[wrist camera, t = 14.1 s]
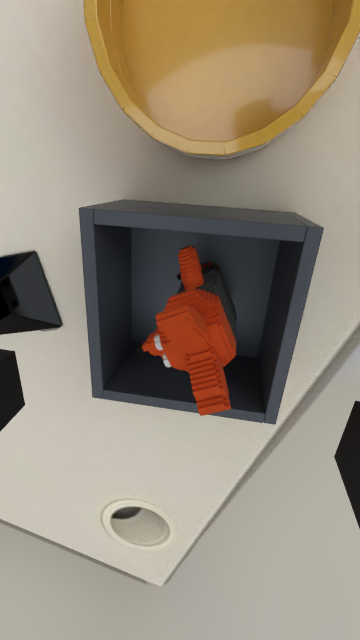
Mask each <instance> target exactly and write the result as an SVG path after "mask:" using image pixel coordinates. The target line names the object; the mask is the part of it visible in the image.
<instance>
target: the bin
mask: <svg viewBox="0 0 360 640" xmlns="http://www.w3.org/2000/svg"><path fill="white" fill-rule="evenodd" d="M79 217H80V231H81V244H82V258H83V272H84V286H85V300H86V313H87V327H88V341H89V355H90V369H91V382H92V396H93V397H94V398H101V399H107V400H114V401H120V402H127V403H134V404H140V405H147V406H154V407H160V408H167V409H174V410H180V411H187V412H194V413H199V412H198V410H197V409H198V406H197V404H196V403H197V401H196V399H195V397H194V394H193V389H192V384H191V378H190V373H189V372H188V371H186V370H178V369H175V368H173V367H166V366H165V364H164V362H163V360H164V359H163V358H162V356H159V355H156V356H154V355H152V354H150V353H149V351H145V352H142V353H138V351H137V349H136V347H137V346H138V345H140V344H143V343H144V342H146V341H147V338H148V336H149V334H152V333H154V332H155V330H156V328H157V326H158V325H157V323H156V322H157V320H156V317H155V316H156V315H157V313H160V312H163V311H164V309H165V307H166V304H167V302H168V300H169V297H170V296H173V295H176V294H177V292H178V290H179V288H180V287H181V285H180V284H181V283H182V282H183V281H182V279H180V280H178V278H177V275H178V274H180V273H181V271H180V263H179V259H178V258H179V257H178V254H179V253H180V251H179V250H180V249H183V248H184V247H187V246H190V245H191V246H192V247H195V248H196V251H197V253H198V257H199V261H200V265H201V266H202V265H205V264H207V263H210V262H212V263H213V265H215V264H216V265H219V267H220V269H221V272H222V274H223V277H224V280H225V282H226V288H227V290H228V292H229V294H230V296H231V299H232V301H233V304H234V307H235V309H236V313H237V322H235V323H236V327H237V334H238V339H237V340H236V355H235V358H232V360H231V361H230V362H229V363H228V364H226V366H223V370H224V374H225V379H226V384H227V388H228V391H229V400H230V405H231V409H229V410H225V411H220V412H216V413H212V414H207V415H214V416H220V417H227V418H234V419H240V420H247V421H254V422H260V423H263V422H264V423H269V424H276V420H277V416H278V412H279V408H280V404H281V400H282V396H283V392H284V388H285V384H286V379H287V375H288V371H289V367H290V363H291V359H292V355H293V351H294V347H295V343H296V339H297V335H298V331H299V327H300V323H301V319H302V314H303V310H304V306H305V302H306V298H307V294H308V290H309V286H310V282H311V278H312V274H313V270H314V266H315V262H316V258H317V254H318V249H319V245H320V241H321V237H322V233H323V227H321V226H319V225H317V224H315V223H313V222H312V221H310V220H308V219H306V218H304V217H302V216H300V215H298V214H297V213H293V212H280V211H267V210H254V209H241V208H228V207H215V206H201V205H188V204H175V203H162V202H149V201H136V200H118V201H113V202H108V203H102V204H97V205H92V206H86V207H81V208H79Z"/></svg>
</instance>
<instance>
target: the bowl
mask: <svg viewBox="0 0 360 640" xmlns="http://www.w3.org/2000/svg"><path fill="white" fill-rule="evenodd" d="M84 17H85V24H86V28H87V31H88V35H89V38H90V42H91V45H92V49H93V52H94V56H95V59H96V63H97V66H98V69H99V71H100V74H101V76H102V77H103V79H104V81H105V82H106V84H107V86H108V87H109V89H110V91H111V92H112V94H113V96H114V97H115V99H116V101H117V103H118V104H119V106H120V108H121V109H122V110H123V112H124V113H125V114H126V115H127V116H128V117H130V118H131V119H132V120H133V121H134V122H135V123H136V124H137V125H138V126H139V127H140V128H141V129H143V130H144V131H145V132H146V133H147V134H148V135H149V136H150V137H151V138H153V139H154V140H156V141H158V142H160V143H162V144H164V145H166V146H168V147H170V148H173V149H175V150H177V151H180V152H182V153H184V154H186V155H189V156H191V157H193V158H200V159H217V160H226V159H227V160H228V159H231V158H235V157H239V156H242V155H245V154H249V153H252V152H255V151H258V150H260V149H262V148H263V147H264V146H266V145H267V144H269V143H270V142H272V141H273V140H275V139H276V138H278V137H279V136H281V135H282V134H284V133H285V132H287V131H288V130H289V129H290V128H292V127H293V126H294V125H295V124H296V123H297V122H299V121H300V120H301V119H302V118H303V117H304V116H305V115H306V114H307V113H308V111H309V110H310V109H311V108H312V107H313V105H314V104H315V103H316V102H317V101H318V100H319V98H320V97H321V96H322V95H323V94H324V93H325V91H326V90H327V89H328V88H329V87H330V85H331V84H332V83H333V82H334V81H335V79H336V78H337V77H338V75H339V73H340V71H341V69H342V67H343V65H344V63H345V61H346V59H347V57H348V55H349V53H350V51H351V48H352V46H353V44H354V42H355V40H356V38H357V36H358V34H359V32H360V0H84Z"/></svg>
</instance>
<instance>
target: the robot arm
mask: <svg viewBox="0 0 360 640" xmlns="http://www.w3.org/2000/svg"><path fill="white" fill-rule="evenodd" d="M24 405H25V402H24V397H23V392H22V386H21V381H20V376H19V371H18V366H17V360H16V355H15V351H9V350H2V349H0V431H1V430H2V429H3V428H4V427H5V426H6V425H7V424H8V423H9V422H10V420H11V419H12V418H13V417H14V416H15V415H16V414H17V413H18V412H19V411H20V410H21V409H22V408H23V406H24ZM335 460H336V462H337V466H338V468H339V471H340V474H341V477H342V480H343V483H344V485H345V488H346V491H347V494H348V497H349V499H350V502H351V505H352V508H353V511H354V514H355V517H356V519H357V522H358V525H359V528H360V402H359V401H355V403H354V406H353V408H352V411H351V414H350V417H349V419H348V422H347V424H346V427H345V430H344V432H343V435H342V438H341V440H340V443H339V446H338V448H337V451H336V454H335Z"/></svg>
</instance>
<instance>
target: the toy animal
mask: <svg viewBox="0 0 360 640" xmlns="http://www.w3.org/2000/svg"><path fill="white" fill-rule="evenodd" d="M179 251H180V253H179V254H178V257H179V258H178V259H179V263H180V271H181V273H180V274H178V275H177V278H178V280H180V279H182V281H183V282H182V283H181V284H180V285H181V287H180V288H179V290H178V292H177V294H176V295H173V296H170V297H169V300H168V302H167V304H166V307H165V309H164V311H163V312H160V313H157V315H156V316H155V317H156V320H157V322H156V323H157V325H158V326H157V328H156V330H155V332H154V333H152V334H149V336H148V338H147V341H146V342H144V343H143V344H140V345H138V346H137V347H136V349H137V351H138V353H142V352H145V351H149V353H150V354H152V355H154V356H156V355H159V356H162V358H163V359H164V360H163V362H164V364H165V366H166V367H173V368H175V369H178V370H186V371H188V372H189V373H190V378H191V384H192V389H193V394H194V397H195V399H196V401H197V403H196V404H197V406H198V409H197V410H198V412H199V414H200V415H202V416H203V415H207V414H212V413H216V412H220V411H225V410H229V409H231V405H230V400H229V391H228V388H227V384H226V379H225V374H224V370H223V366H226V364H228V363H229V362H230V361H231V360H232V358H235V355H236V340H237V339H238V334H237V327H236V323H235V322H237V313H236V309H235V307H234V304H233V301H232V299H231V296H230V294H229V292H228V290H227V288H226V282H225V280H224V277H223V274H222V272H221V269H220V267H219V265H216V264H215V265H213V263H212V262H210V263H207V264H205V265H202V266H201V265H200V261H199V257H198V253H197V251H196V248H195V247H192V246H191V245H190V246H187V247H184V248H183V249H180V250H179Z"/></svg>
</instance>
